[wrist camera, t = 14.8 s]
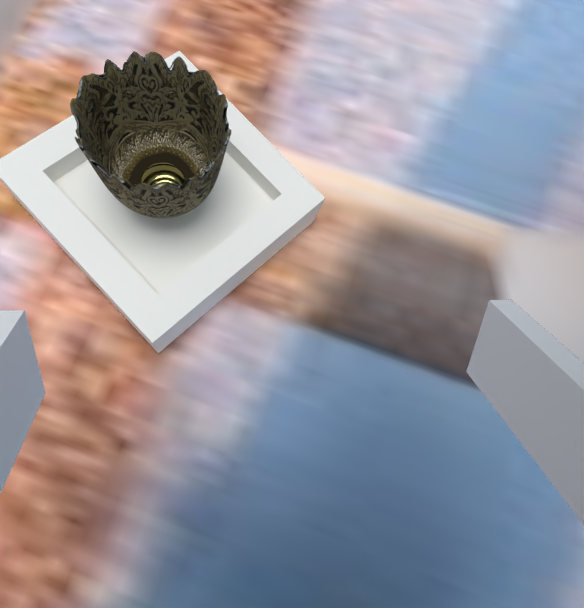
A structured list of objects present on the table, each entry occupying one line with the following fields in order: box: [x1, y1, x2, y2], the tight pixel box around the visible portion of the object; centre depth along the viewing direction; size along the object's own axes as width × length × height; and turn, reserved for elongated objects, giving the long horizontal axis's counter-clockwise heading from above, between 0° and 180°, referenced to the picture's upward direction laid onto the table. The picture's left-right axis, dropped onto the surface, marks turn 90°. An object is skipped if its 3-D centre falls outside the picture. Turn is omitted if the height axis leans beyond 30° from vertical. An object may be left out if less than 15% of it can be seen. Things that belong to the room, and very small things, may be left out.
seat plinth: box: [0, 51, 325, 353], centre depth 30 cm, size 14×14×4 cm
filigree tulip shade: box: [70, 51, 231, 218], centre depth 26 cm, size 8×7×8 cm
